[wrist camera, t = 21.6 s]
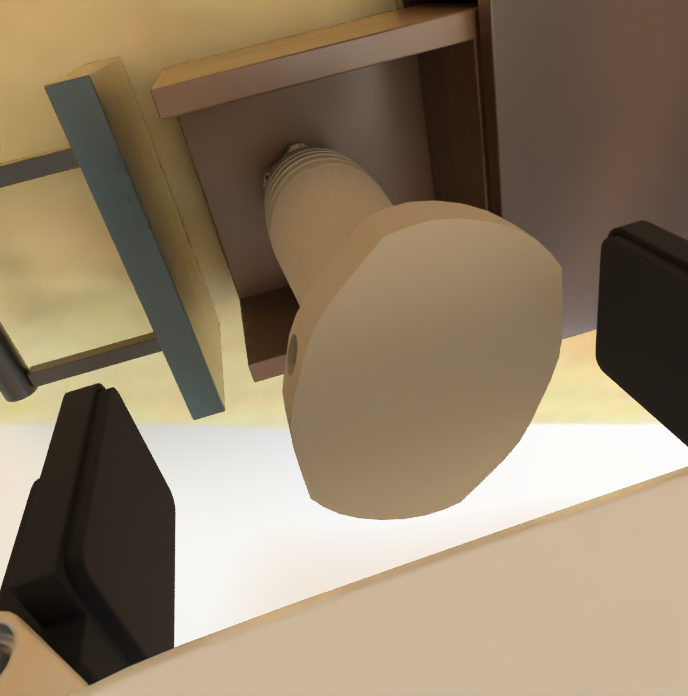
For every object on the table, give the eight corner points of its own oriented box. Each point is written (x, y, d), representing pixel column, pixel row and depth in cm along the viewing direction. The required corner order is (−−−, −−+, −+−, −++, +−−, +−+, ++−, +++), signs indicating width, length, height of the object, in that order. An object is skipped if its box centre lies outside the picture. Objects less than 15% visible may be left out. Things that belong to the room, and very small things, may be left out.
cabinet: (431, 267, 29) (509, 355, 21) (391, -32, 22) (486, -50, 15) (683, 195, 30) (840, 256, 22) (719, -112, 23) (960, -167, 16)
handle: (230, 247, 24) (265, 518, 11) (256, 81, 21) (342, 193, 8) (342, 264, 25) (484, 521, 13) (380, 110, 22) (614, 245, 10)
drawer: (52, 372, 26) (11, 475, 20) (-102, 110, 20) (-222, 151, 14) (451, 258, 28) (516, 325, 22) (420, -19, 22) (499, -28, 16)
